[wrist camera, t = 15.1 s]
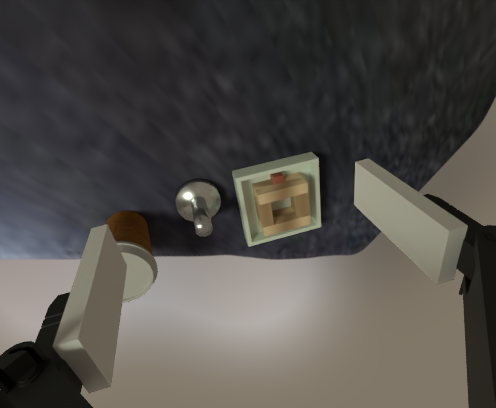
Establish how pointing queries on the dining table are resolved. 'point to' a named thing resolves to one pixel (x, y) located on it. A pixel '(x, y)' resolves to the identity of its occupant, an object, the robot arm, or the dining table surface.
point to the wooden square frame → (276, 191)
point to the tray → (243, 185)
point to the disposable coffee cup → (134, 252)
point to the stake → (198, 204)
